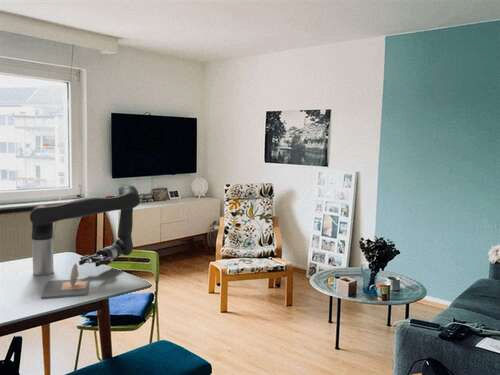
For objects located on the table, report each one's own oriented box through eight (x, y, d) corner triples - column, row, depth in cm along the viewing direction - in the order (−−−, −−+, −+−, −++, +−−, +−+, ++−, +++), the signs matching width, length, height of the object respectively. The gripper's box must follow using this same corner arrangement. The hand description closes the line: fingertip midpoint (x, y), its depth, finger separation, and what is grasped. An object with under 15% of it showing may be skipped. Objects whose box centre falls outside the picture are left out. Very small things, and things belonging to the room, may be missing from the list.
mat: (47, 282, 207) (47, 280, 207) (89, 279, 213) (89, 277, 213) (41, 298, 187) (41, 296, 187) (87, 295, 193) (87, 292, 193)
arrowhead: (73, 288, 198) (72, 266, 197) (67, 288, 198) (66, 265, 197) (81, 282, 206) (80, 261, 205) (75, 282, 206) (74, 260, 205)
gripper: (93, 246, 229) (74, 254, 213) (119, 248, 225) (101, 257, 210) (93, 261, 229) (74, 270, 214) (119, 263, 226) (101, 272, 211)
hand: (87, 263), depth 212 cm, fingers open, 8 cm apart
